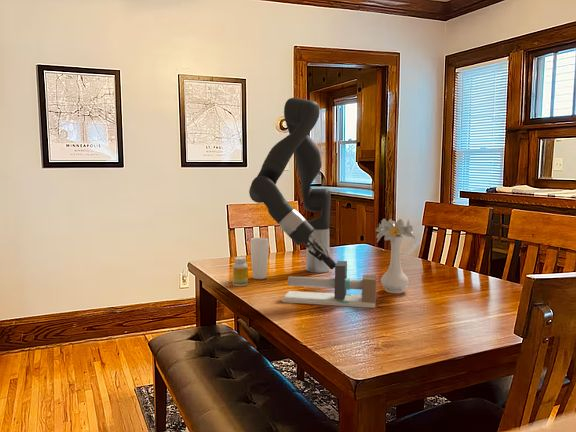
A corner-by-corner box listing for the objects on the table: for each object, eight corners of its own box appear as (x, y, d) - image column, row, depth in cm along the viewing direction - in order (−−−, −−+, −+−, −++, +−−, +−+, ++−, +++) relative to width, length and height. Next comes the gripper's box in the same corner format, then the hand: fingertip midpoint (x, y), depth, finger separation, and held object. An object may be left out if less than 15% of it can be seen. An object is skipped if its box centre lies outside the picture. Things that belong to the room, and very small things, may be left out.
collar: (334, 298, 153) (335, 265, 152) (337, 292, 161) (337, 260, 160) (344, 299, 152) (344, 266, 151) (346, 292, 160) (347, 261, 159)
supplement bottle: (230, 283, 178) (230, 257, 177) (244, 282, 181) (244, 256, 180) (235, 287, 174) (235, 260, 173) (250, 285, 176) (250, 258, 175)
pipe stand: (282, 302, 155) (282, 276, 154) (288, 293, 166) (289, 269, 165) (374, 307, 149) (375, 281, 148) (375, 298, 160) (376, 273, 159)
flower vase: (402, 284, 179) (404, 215, 177) (421, 297, 161) (423, 221, 159) (367, 284, 178) (368, 215, 176) (382, 298, 160) (384, 221, 157)
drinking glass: (266, 280, 183) (266, 240, 182) (248, 279, 185) (248, 239, 183) (270, 276, 190) (270, 237, 188) (253, 275, 191) (253, 237, 190)
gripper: (292, 232, 164) (328, 270, 163) (283, 237, 151) (322, 279, 150) (308, 216, 163) (345, 255, 161) (301, 221, 150) (340, 263, 148)
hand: (334, 267), depth 156 cm, fingers closed
